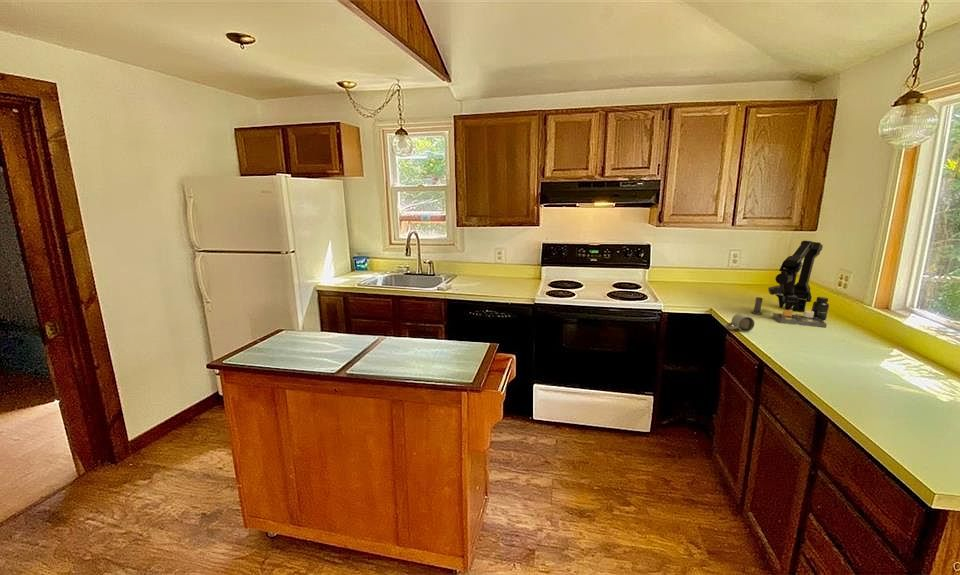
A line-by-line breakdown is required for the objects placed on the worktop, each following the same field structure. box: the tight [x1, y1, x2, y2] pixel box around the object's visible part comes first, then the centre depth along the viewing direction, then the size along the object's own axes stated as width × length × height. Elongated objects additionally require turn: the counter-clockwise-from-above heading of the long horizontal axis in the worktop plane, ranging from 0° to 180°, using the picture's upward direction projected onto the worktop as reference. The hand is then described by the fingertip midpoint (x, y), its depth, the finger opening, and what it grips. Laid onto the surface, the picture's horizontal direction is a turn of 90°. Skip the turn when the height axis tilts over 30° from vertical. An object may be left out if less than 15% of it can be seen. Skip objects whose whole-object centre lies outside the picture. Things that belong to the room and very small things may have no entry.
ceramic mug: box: [725, 313, 755, 333], centre depth 209 cm, size 11×8×8 cm
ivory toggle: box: [803, 310, 814, 318], centre depth 223 cm, size 2×4×3 cm, turn 71°
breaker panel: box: [772, 312, 827, 328], centre depth 223 cm, size 12×20×3 cm, turn 71°
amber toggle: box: [782, 308, 794, 316], centre depth 225 cm, size 2×4×3 cm, turn 71°
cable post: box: [750, 296, 764, 316], centre depth 236 cm, size 5×5×9 cm
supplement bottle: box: [811, 296, 830, 322], centre depth 227 cm, size 7×7×12 cm
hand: (783, 310), depth 231 cm, fingers open, 9 cm apart
